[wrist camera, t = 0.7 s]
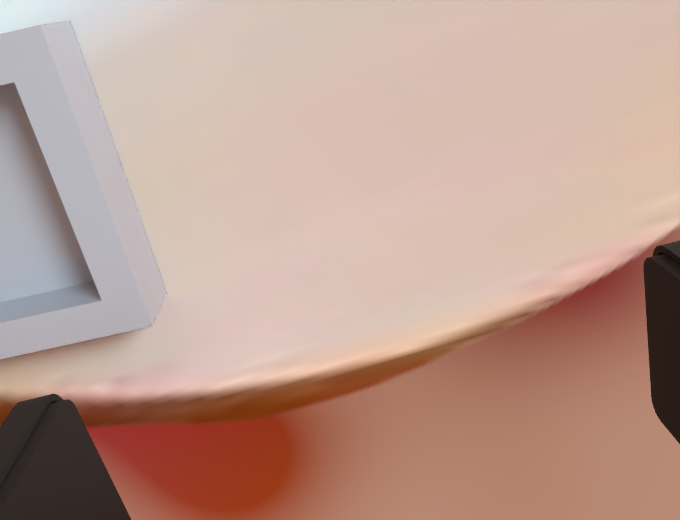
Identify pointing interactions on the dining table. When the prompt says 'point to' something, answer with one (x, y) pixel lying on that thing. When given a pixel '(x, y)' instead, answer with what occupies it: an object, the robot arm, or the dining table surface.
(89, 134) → the grey square tray
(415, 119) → the dining table surface
